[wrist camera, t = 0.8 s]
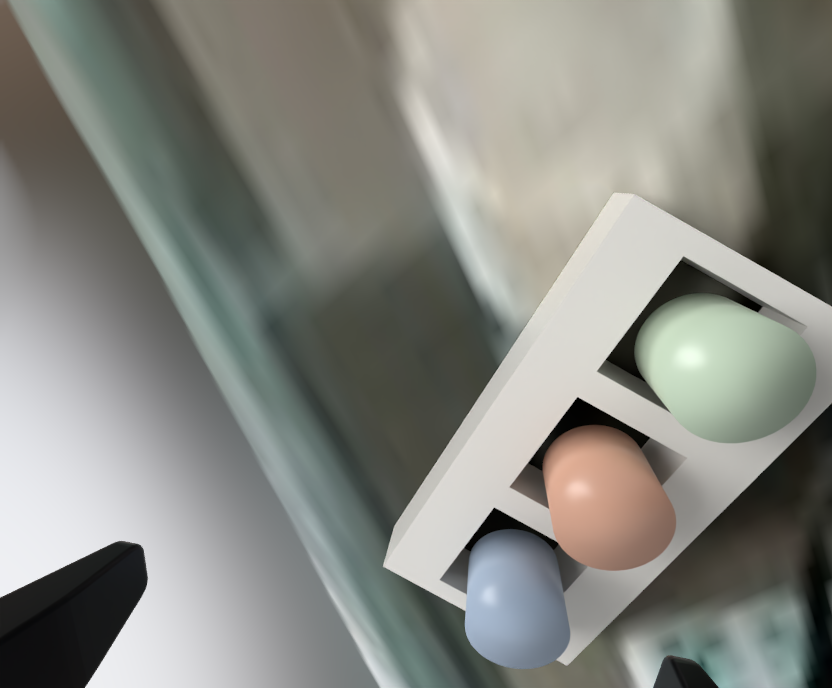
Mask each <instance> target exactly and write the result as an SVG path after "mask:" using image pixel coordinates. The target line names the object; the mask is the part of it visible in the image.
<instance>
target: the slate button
mask: <svg viewBox="0 0 832 688" xmlns="http://www.w3.org/2000/svg"><path fill="white" fill-rule="evenodd" d="M465 631H466V635H467V637H468V640H469V641H470V643H471V645H472V646H473V647H474V648H475V650H476V651H477V652H479V653H480V654H481V655H482V656H483V657H485V658H487V659H488V660H490V661H492V662H494V663H496V664H499V665H502V666H505V667H509V668H516V669H531V668H537V667H541V666H544V665H547V664H549V663H551V662H553V661H555V660H556V659H558V658H559V657H560V656H561V655H562V654H563V653H564V651H565V650H566V648H567V647H568V644H569V641H570V627H569V621H568V616H567V610H566V604H565V599H564V593H563V588H562V582H561V576H560V571H559V565H558V560H557V557H556V554H555V552H554V551H553V549H552V548H551V547H550V546H549V544H548V543H547V542H545V541H544V540H543V539H541V538H540V537H538V536H536V535H534V534H532V533H529V532H527V531H523V530H517V529H504V530H498V531H494V532H491V533H489V534H487V535H485V536H483V537H482V538H481V539H479V540H478V541H477V542H476V544H475V545H474V546H473V548H472V550H471V552H470V555H469V565H468V582H467V599H466V616H465Z"/></svg>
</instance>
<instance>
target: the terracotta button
mask: <svg viewBox="0 0 832 688" xmlns="http://www.w3.org/2000/svg"><path fill="white" fill-rule="evenodd" d="M543 476H544V482H545V487H546V493H547V499H548V504H549V510H550V515H551V521H552V526H553V532H554V535H555V538H556V540H557V542H558V544H559V545H560V546H561V548H562V549H563V550H564V551H565V552H566V553H567V554H568V555H569V556H570V557H572V558H573V559H574V560H576V561H578V562H579V563H582V564H584V565H586V566H589V567H592V568H595V569H600V570H607V571H620V570H628V569H633V568H636V567H639V566H642V565H645V564H647V563H649V562H650V561H652V560H654V559H655V558H657V557H658V556H659V555H660V554H661V553H663V552H664V550H665V549H666V548H667V547H668V545H669V544H670V542H671V541H672V538H673V536H674V533H675V529H676V515H675V511H674V508H673V506H672V503H671V502H670V500H669V498H668V496H667V495H666V493H665V491H664V489H663V487H662V486H661V484H660V482H659V480H658V479H657V477H656V475H655V473H654V472H653V470H652V468H651V466H650V465H649V463H648V461H647V459H646V457H645V456H644V454H643V452H642V450H641V449H640V447H639V446H638V444H637V443H636V442H635V441H634V440H633V439H632V438H631V437H630V436H629V435H627V434H626V433H624V432H622V431H620V430H618V429H615V428H612V427H609V426H604V425H586V426H581V427H577V428H574V429H571V430H569V431H567V432H565V433H564V434H562V435H561V436H559V437H558V438H557V439H556V440H555V441H554V442H553V443H552V444H551V445H550V447H549V448H548V450H547V452H546V454H545V456H544V460H543Z"/></svg>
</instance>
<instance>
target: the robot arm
mask: <svg viewBox="0 0 832 688" xmlns="http://www.w3.org/2000/svg"><path fill="white" fill-rule="evenodd" d="M147 580H148V577H147V570H146V563H145V557H144V550H143V548H142V547H141V545H139V544H135V543H130V542H125V541H118V542H115V543H113V544H111V545H108V546H107V547H104V548H102V549H100V550H98V551H96V552H94V553H92V554H90V555H88V556H86V557H84V558H82V559H79V560H77V561H75V562H73V563H71V564H69V565H67V566H65V567H63V568H61V569H59V570H57V571H55V572H53V573H50V574H49V575H46V576H44V577H42V578H41V579H38V580H36V581H34V582H32V583H30V584H28V585H26V586H24V587H22V588H19V589H17V590H15V591H13V592H11V593H9V594H7V595H5V596H3V597H1V598H0V688H85V686H86V685H87V684H88V682H89V681H90V679H91V678H92V676H93V674H94V673H95V671H96V670H97V668H98V666H99V665H100V663H101V662H102V660H103V659H104V657H105V655H106V654H107V652H108V650H109V649H110V647H111V646H112V644H113V642H114V641H115V639H116V637H117V636H118V634H119V632H120V631H121V629H122V628H123V626H124V624H125V623H126V621H127V619H128V618H129V616H130V615H131V613H132V611H133V610H134V608H135V607H136V605H137V603H138V602H139V600H140V598H141V597H142V595H143V593H144V591H145V589H146V586H147ZM653 688H719V687H718V686H717V685H716V684H715V683H714V681H713V680H712V679H711V678H710V677H709V676H708V674H707V673H706V672H705V671H704V670H703V669H702V667H701V666H700V665H699V664H697V663H696V662H695V661H693V660H690V659H686V658H681V657H676V656H667V657H665V658H664V660H663V662H662V665H661V668H660V670H659V673H658V676H657V679H656V681H655V684H654V687H653Z"/></svg>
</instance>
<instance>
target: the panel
mask: <svg viewBox="0 0 832 688" xmlns="http://www.w3.org/2000/svg"><path fill="white" fill-rule="evenodd" d="M680 260H682V261H684V262H685V263H687V264H689V265H691V266H692V267H694V268H696V269H698V270H699V271H701V272H703V273H705V274H706V275H708V276H710V277H712V278H713V279H715V280H717V281H719V282H721V283H722V284H724V285H726V286H728V287H729V288H731V289H733V290H735V291H736V292H738V293H740V294H742V295H743V296H745V297H747V298H749V299H750V300H752V301H754V302H756V303H757V304H759V305H761V306H763V307H762V308H761V310H760V311H759V312H758V313H759V314H761V315H763V316H766V317H768V318H770V319H772V320H774V321H776V322H778V323H780V324H782V325H784V326H786V327H789V328H790V329H792V330H793V331H795V332H796V333H797V334H799V335H800V336H801V337H802V338H803V339H804V340H805V342H806V343H807V344H808V345H809V347H810V349H811V351H812V353H813V356H814V359H815V363H816V382H815V387H814V390H813V393H812V395H811V397H810V399H809V401H808V403H807V404H806V406H805V407H804V409H803V410H802V411H801V412H800V413H799V415H798V416H797V417H796V418H795V419H793V420H792V421H791V422H790V423H789V424H787V425H786V426H785V427H783V428H782V429H780V430H778V431H777V432H775V433H773V434H771V435H768V436H766V437H764V438H761V439H757V440H754V441H749V442H744V443H718V442H713V441H709V440H706V439H703V438H700V437H698V436H696V435H694V434H692V433H691V432H689V431H688V430H686V429H685V428H684V427H683V426H682V425H681V424H680V423H679V422H678V421H677V420H676V419H675V417H674V416H673V415H672V414H671V412H670V411H669V410H668V408H667V407H666V406H665V405H664V403H663V402H662V401H661V400H660V398H659V397H658V396H657V395H656V393H655V392H654V391H653V389H652V388H651V387H650V386H649V384H648V383H646V382H644V381H642V380H640V379H639V378H637V377H635V376H633V375H632V374H630V373H628V372H626V371H624V370H623V369H621V368H619V367H617V366H615V365H614V364H612V363H610V362H608V361H607V360H606V358H607V357H608V356H609V354H610V353H611V352H612V350H613V349H614V348H615V346H616V345H617V344H618V342H619V341H620V340H621V338H622V337H623V336H624V334H625V333H626V332H627V330H628V329H629V328H630V326H631V325H632V324H633V322H634V321H635V320H636V318H637V317H638V316H639V314H640V313H641V312H642V311H643V309H644V308H645V307H646V305H647V304H648V303H649V301H650V300H651V299H652V297H653V296H654V295H655V293H656V292H657V291H658V289H659V288H660V287H661V285H662V284H663V283H664V281H665V280H666V279H667V277H668V276H669V275H670V273H671V272H672V271H673V269H674V268H675V267H676V265H677V264H678V263H679V261H680ZM577 397H579V398H580V399H582V400H584V401H586V402H588V403H589V404H591V405H593V406H595V407H597V408H598V409H600V410H602V411H604V412H606V413H607V414H609V415H611V416H613V417H614V418H616V419H618V420H620V421H622V422H623V423H625V424H627V425H629V426H631V427H632V428H634V429H636V430H638V431H640V432H641V433H643V434H645V435H647V436H649V437H650V439H649V440H648V441H647V442H646V443H645V445H644V446H643V447H642V448H641V450H642V452H643V454H644V456H645V457H646V459H647V461H648V463H649V465H650V466H651V468H652V470H653V472H654V473H655V475H656V477H657V479H658V480H659V482H660V484H661V486H662V487H663V489H664V491H665V493H666V495H667V496H668V498H669V500H670V502H671V503H672V506H673V508H674V511H675V515H676V529H675V533H674V536H673V538H672V541H671V542H670V544H669V545H668V547H667V548H666V549H665V550H664V552H663V553H661V554H660V555H659V556H658V557H657V558H655V559H654V560H652V561H650V562H649V563H647V564H645V565H642V566H639V567H636V568H633V569H628V570H620V571H607V570H600V569H595V568H592V567H589V566H586V565H584V564H582V563H579V562H578V561H576V560H574V559H573V558H572V557H570V556H569V555H568V554H567V553H566V552H565V551H564V550H563V549H562V548H561V546H560V545H558V546H557V547H556V548H555V549H554V552H555V554H556V557H557V560H558V565H559V571H560V576H561V582H562V588H563V593H564V599H565V604H566V610H567V616H568V621H569V627H570V641H569V644H568V647H567V648H566V650H565V651H564V653H563V654H562V655H561V656H560V657H559V658H558V659H556V660H557V661H559V662H561V663H563V664H565V665H568V664H569V663H570V662H571V661H572V660H573V659H574V658H575V657H576V656H577V655H578V654H579V653H580V652H581V651H582V650H583V649H584V648H585V647H586V646H587V645H588V644H589V643H591V642H592V641H593V640H594V639H595V638H596V637H597V636H598V635H599V634H600V633H601V632H602V631H603V630H604V629H605V628H606V627H607V626H608V625H609V624H610V623H611V622H612V621H613V620H614V619H615V618H616V617H617V616H618V615H619V614H620V613H621V612H622V611H623V610H624V609H625V608H626V607H627V606H628V605H629V604H630V603H631V602H632V601H633V600H634V599H635V598H636V597H637V596H638V595H639V594H640V593H641V592H642V591H643V590H644V589H645V588H646V587H647V586H648V585H649V584H650V583H651V582H652V581H653V580H654V579H655V578H656V577H657V576H658V575H659V574H660V573H661V572H662V571H663V570H664V569H665V568H666V567H667V566H668V565H669V564H670V563H671V562H672V561H673V560H674V559H675V558H676V557H677V556H678V555H679V554H680V553H681V552H682V551H683V550H684V549H685V548H686V547H687V546H688V545H689V544H690V543H691V542H692V541H693V540H694V539H695V538H696V537H697V536H698V535H699V534H700V533H701V532H702V531H703V530H704V529H705V528H706V527H707V526H708V525H709V524H710V523H711V522H712V521H713V520H714V519H715V518H716V517H717V516H718V515H719V514H721V513H722V512H723V511H724V510H725V509H726V508H727V507H728V506H729V505H730V504H731V503H732V502H733V501H734V500H735V499H736V498H737V497H738V496H739V495H740V494H741V493H742V492H743V491H744V490H745V489H746V488H747V487H748V486H749V485H750V484H751V483H752V482H753V481H754V480H755V479H756V478H757V477H758V476H759V475H760V474H761V473H762V472H763V471H764V470H765V469H766V468H767V467H768V466H769V465H770V464H771V463H772V462H773V461H774V460H775V459H776V458H777V457H778V456H779V455H780V454H781V453H782V452H783V451H784V450H785V449H786V448H787V447H788V446H789V445H790V444H791V443H792V442H793V441H794V440H795V439H796V438H797V437H798V436H799V435H800V434H801V433H802V432H803V431H804V430H805V429H806V428H807V427H808V426H809V425H810V424H811V423H812V422H813V421H814V420H815V419H816V418H817V417H818V416H819V415H820V414H821V413H822V412H823V411H824V410H825V409H826V408H827V407H828V406H829V405H830V404H831V403H832V307H831V306H830V305H828V304H826V303H824V302H823V301H821V300H819V299H817V298H816V297H814V296H812V295H810V294H809V293H807V292H805V291H803V290H802V289H800V288H798V287H796V286H795V285H793V284H791V283H789V282H788V281H786V280H784V279H782V278H781V277H779V276H777V275H775V274H774V273H772V272H770V271H768V270H767V269H765V268H763V267H761V266H760V265H758V264H756V263H754V262H753V261H751V260H749V259H747V258H746V257H744V256H742V255H740V254H739V253H737V252H735V251H733V250H732V249H730V248H728V247H726V246H725V245H723V244H721V243H719V242H718V241H716V240H714V239H712V238H711V237H709V236H707V235H705V234H704V233H702V232H700V231H698V230H697V229H695V228H693V227H691V226H690V225H688V224H686V223H684V222H683V221H681V220H679V219H677V218H676V217H674V216H672V215H670V214H669V213H667V212H665V211H663V210H662V209H660V208H658V207H656V206H655V205H653V204H651V203H649V202H648V201H646V200H644V199H642V198H641V197H639V196H637V195H635V194H627V193H613V194H612V196H611V197H610V199H609V201H608V202H607V204H606V205H605V207H604V208H603V210H602V211H601V213H600V214H599V216H598V217H597V219H596V220H595V222H594V223H593V225H592V226H591V228H590V229H589V231H588V232H587V234H586V235H585V237H584V239H583V240H582V242H581V243H580V245H579V246H578V248H577V249H576V251H575V252H574V254H573V255H572V257H571V258H570V260H569V261H568V263H567V264H566V266H565V267H564V269H563V270H562V272H561V274H560V275H559V277H558V278H557V280H556V281H555V283H554V284H553V286H552V287H551V289H550V290H549V292H548V293H547V295H546V296H545V298H544V299H543V301H542V302H541V304H540V305H539V307H538V308H537V310H536V312H535V313H534V315H533V316H532V318H531V319H530V321H529V322H528V324H527V325H526V327H525V328H524V330H523V331H522V333H521V334H520V336H519V337H518V339H517V340H516V342H515V343H514V345H513V346H512V348H511V350H510V351H509V353H508V354H507V356H506V357H505V359H504V360H503V362H502V363H501V365H500V366H499V368H498V369H497V371H496V372H495V374H494V375H493V377H492V378H491V380H490V381H489V383H488V384H487V386H486V388H485V389H484V391H483V392H482V394H481V395H480V397H479V398H478V400H477V401H476V403H475V404H474V406H473V407H472V409H471V410H470V412H469V413H468V415H467V416H466V418H465V419H464V421H463V422H462V424H461V426H460V427H459V429H458V430H457V432H456V433H455V435H454V436H453V438H452V439H451V441H450V442H449V444H448V445H447V447H446V448H445V450H444V451H443V453H442V454H441V456H440V457H439V459H438V460H437V462H436V464H435V465H434V467H433V468H432V470H431V471H430V473H429V474H428V476H427V477H426V479H425V480H424V482H423V483H422V485H421V486H420V488H419V489H418V491H417V492H416V494H415V495H414V497H413V499H412V500H411V502H410V503H409V505H408V506H407V508H406V509H405V511H404V512H403V514H402V515H401V517H400V518H399V520H398V521H397V523H396V524H395V526H394V529H393V533H392V536H391V540H390V543H389V547H388V551H387V554H386V558H385V561H384V565H383V567H385V568H387V569H389V570H391V571H393V572H394V573H396V574H398V575H400V576H402V577H404V578H406V579H407V580H409V581H411V582H413V583H415V584H417V585H419V586H420V587H422V588H424V589H426V590H428V591H430V592H432V593H433V594H435V595H437V596H439V597H441V598H443V599H444V600H446V601H448V602H450V603H452V604H454V605H456V606H457V607H459V608H461V609H463V610H465V611H466V599H467V582H468V565H469V555H470V551H469V550H467V549H465V548H464V547H465V545H466V544H467V543H468V541H469V540H470V539H471V537H472V536H473V535H474V533H475V532H476V531H477V530H478V528H479V527H480V526H481V524H482V523H483V522H484V520H485V519H486V518H487V516H488V515H489V514H490V512H491V511H492V510H493V508H496V509H498V510H500V511H502V512H504V513H505V514H507V515H509V516H511V517H513V518H515V519H516V520H518V521H520V522H522V523H524V524H526V525H527V526H529V527H531V528H533V529H535V530H536V531H538V532H540V533H542V534H544V535H546V536H547V537H549V538H551V539H553V540H555V541H557V540H556V538H555V535H554V532H553V526H552V521H551V515H550V510H549V504H548V499H547V493H546V487H545V482H544V476H543V471H541V470H540V469H538V468H536V467H534V466H532V465H530V464H529V463H528V462H529V460H530V459H531V458H532V457H533V455H534V454H535V453H536V451H537V450H538V449H539V447H540V446H541V445H542V443H543V442H544V441H545V439H546V438H547V437H548V435H549V434H550V433H551V431H552V430H553V429H554V427H555V426H556V425H557V423H558V422H559V421H560V419H561V418H562V417H563V415H564V414H565V413H566V411H567V410H568V409H569V407H570V406H571V405H572V403H573V402H574V401H575V399H576V398H577Z"/></svg>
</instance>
